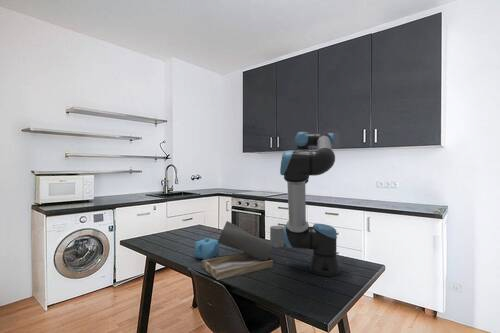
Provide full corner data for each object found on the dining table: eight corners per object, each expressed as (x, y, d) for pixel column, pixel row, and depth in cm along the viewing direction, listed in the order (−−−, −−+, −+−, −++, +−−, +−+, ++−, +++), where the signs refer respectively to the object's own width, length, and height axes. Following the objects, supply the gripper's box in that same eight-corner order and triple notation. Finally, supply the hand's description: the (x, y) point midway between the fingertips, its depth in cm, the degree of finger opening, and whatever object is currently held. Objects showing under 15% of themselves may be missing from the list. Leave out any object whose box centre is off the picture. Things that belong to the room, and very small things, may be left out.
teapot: (206, 251, 168) (206, 233, 168) (228, 257, 157) (228, 238, 157) (186, 258, 156) (186, 239, 156) (208, 265, 145) (208, 244, 145)
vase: (276, 238, 155) (228, 217, 156) (271, 256, 146) (220, 233, 147) (269, 249, 163) (223, 229, 164) (264, 267, 154) (216, 245, 155)
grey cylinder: (283, 247, 178) (283, 229, 178) (269, 246, 179) (269, 228, 179) (284, 243, 187) (284, 226, 187) (270, 243, 189) (271, 225, 189)
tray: (273, 267, 144) (273, 259, 144) (217, 280, 126) (217, 271, 126) (253, 256, 160) (253, 249, 160) (202, 267, 143) (202, 259, 143)
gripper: (306, 157, 178) (305, 192, 178) (290, 156, 171) (290, 193, 171) (314, 156, 171) (314, 193, 171) (299, 156, 164) (298, 194, 164)
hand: (302, 193), depth 171 cm, fingers closed
